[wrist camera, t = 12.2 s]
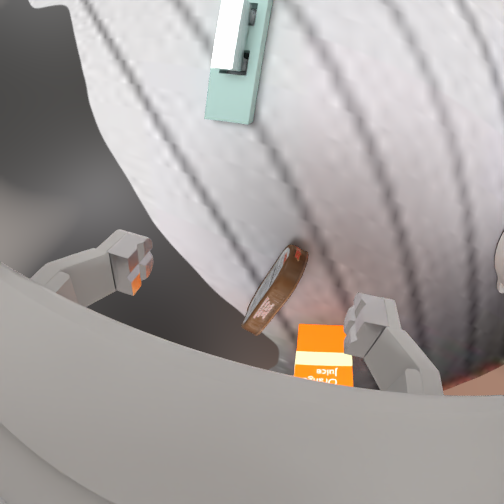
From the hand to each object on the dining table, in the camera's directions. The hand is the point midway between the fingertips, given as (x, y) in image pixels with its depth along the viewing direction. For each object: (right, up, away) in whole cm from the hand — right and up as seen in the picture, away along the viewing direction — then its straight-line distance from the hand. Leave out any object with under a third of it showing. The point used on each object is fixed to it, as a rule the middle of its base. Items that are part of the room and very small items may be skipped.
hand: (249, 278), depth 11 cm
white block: (-1, +25, +15) cm, 29 cm away
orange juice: (+13, -14, +38) cm, 42 cm away
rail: (-1, +25, +15) cm, 29 cm away
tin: (+4, -2, +32) cm, 32 cm away
